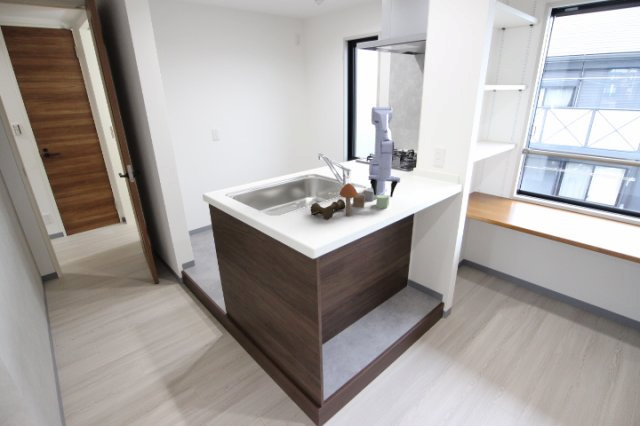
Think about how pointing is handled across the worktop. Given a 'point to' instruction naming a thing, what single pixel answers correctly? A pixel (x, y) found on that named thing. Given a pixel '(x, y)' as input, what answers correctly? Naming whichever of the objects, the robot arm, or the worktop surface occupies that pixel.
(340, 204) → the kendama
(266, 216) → the worktop surface
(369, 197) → the grey cube
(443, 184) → the worktop surface
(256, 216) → the worktop surface
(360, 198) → the walnut cube
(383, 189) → the robot arm
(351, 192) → the mushroom
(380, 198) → the sage cube
